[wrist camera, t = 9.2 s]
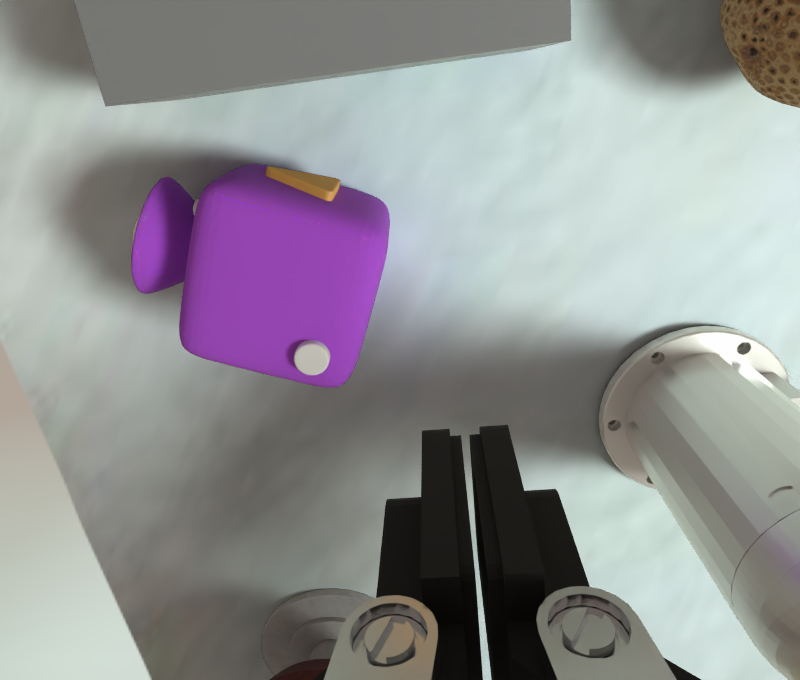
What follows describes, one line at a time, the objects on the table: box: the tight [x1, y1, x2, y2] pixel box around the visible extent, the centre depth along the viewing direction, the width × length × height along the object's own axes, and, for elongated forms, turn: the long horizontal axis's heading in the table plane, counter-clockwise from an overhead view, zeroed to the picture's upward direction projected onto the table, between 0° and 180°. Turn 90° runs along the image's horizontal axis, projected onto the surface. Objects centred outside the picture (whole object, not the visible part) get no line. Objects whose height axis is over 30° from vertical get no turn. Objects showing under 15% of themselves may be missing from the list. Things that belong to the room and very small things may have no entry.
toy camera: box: [131, 164, 390, 388], centre depth 33 cm, size 11×14×10 cm
